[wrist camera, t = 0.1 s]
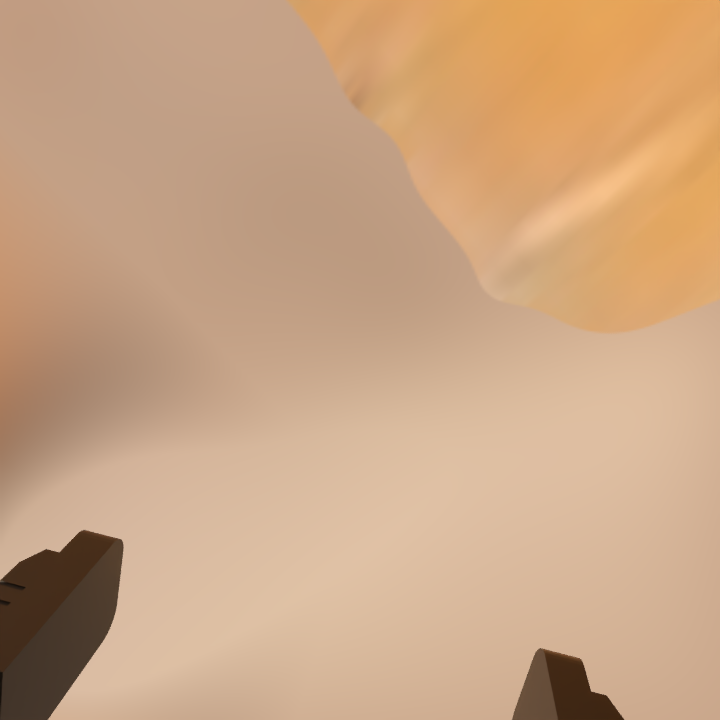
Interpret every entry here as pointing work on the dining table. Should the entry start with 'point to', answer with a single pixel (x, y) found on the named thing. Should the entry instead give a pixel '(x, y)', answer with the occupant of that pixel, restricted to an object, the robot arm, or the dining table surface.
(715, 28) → the dining table surface
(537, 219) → the dining table surface
